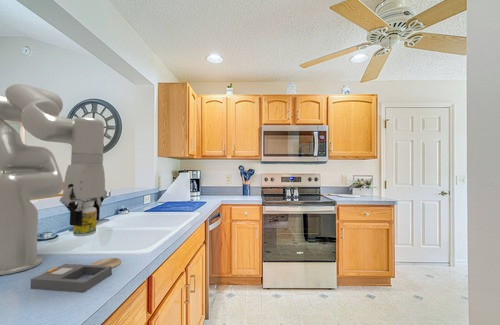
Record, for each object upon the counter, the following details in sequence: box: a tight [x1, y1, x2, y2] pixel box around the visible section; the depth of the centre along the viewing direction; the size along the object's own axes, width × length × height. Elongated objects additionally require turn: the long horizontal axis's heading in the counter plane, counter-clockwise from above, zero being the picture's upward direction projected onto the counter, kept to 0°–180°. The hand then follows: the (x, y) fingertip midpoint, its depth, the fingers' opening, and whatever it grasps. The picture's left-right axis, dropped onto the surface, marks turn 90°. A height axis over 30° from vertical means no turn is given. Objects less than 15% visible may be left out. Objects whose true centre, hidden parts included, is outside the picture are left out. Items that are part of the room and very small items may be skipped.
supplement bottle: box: [72, 199, 97, 237], centre depth 65 cm, size 5×5×10 cm
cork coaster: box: [90, 257, 122, 269], centre depth 75 cm, size 9×9×1 cm
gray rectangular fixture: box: [30, 263, 113, 293], centre depth 65 cm, size 16×10×3 cm, turn 83°
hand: (85, 221), depth 65 cm, fingers closed on supplement bottle, 5 cm apart
